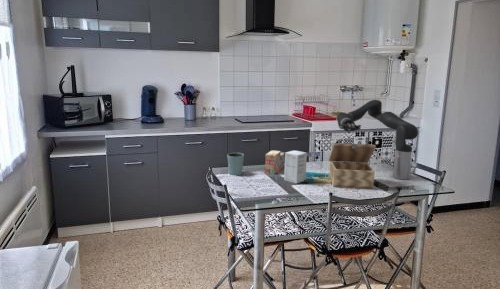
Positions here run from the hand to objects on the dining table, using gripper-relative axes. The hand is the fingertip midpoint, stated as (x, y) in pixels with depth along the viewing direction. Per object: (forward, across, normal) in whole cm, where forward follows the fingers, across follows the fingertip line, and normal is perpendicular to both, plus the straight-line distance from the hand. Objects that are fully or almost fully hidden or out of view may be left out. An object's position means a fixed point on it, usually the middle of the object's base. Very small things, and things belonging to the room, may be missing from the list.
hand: (353, 129), depth 218 cm
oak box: (+4, 0, -31) cm, 31 cm away
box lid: (+3, 0, -15) cm, 16 cm away
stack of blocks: (-17, +44, -31) cm, 57 cm away
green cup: (-4, +68, -31) cm, 75 cm away
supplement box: (+4, +32, -31) cm, 45 cm away
